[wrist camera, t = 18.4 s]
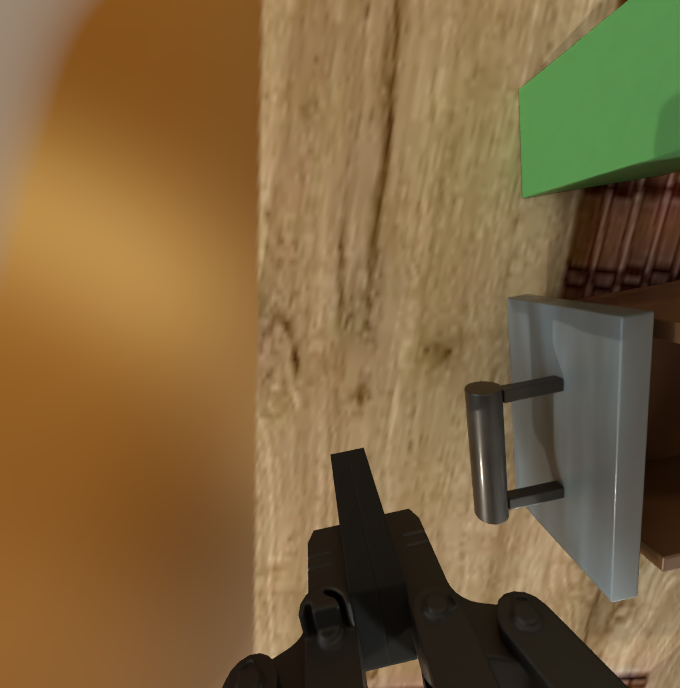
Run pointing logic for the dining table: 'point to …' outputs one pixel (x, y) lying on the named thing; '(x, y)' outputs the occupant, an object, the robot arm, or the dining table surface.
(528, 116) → the green carton
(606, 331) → the drawer
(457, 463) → the dining table surface
